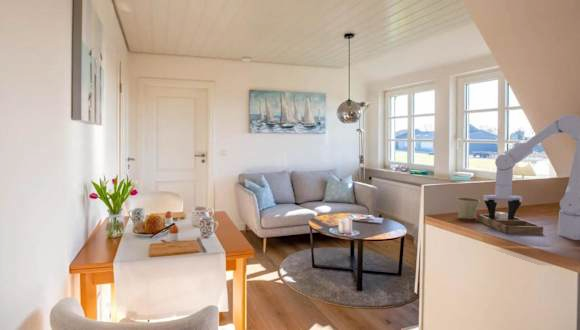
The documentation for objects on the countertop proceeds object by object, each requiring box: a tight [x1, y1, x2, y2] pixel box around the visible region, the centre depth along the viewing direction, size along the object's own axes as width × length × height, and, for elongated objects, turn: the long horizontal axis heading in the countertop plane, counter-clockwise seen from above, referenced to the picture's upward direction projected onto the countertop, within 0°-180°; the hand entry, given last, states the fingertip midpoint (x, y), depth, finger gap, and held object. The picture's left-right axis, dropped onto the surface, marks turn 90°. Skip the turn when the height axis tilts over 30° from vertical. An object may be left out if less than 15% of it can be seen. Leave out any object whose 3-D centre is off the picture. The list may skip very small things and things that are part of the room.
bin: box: [477, 213, 544, 235], centre depth 148 cm, size 20×14×4 cm, turn 1°
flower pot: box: [455, 197, 481, 220], centre depth 165 cm, size 9×9×9 cm
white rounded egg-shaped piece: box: [495, 211, 509, 220], centre depth 153 cm, size 4×4×4 cm
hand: (501, 218), depth 153 cm, fingers open, 7 cm apart
